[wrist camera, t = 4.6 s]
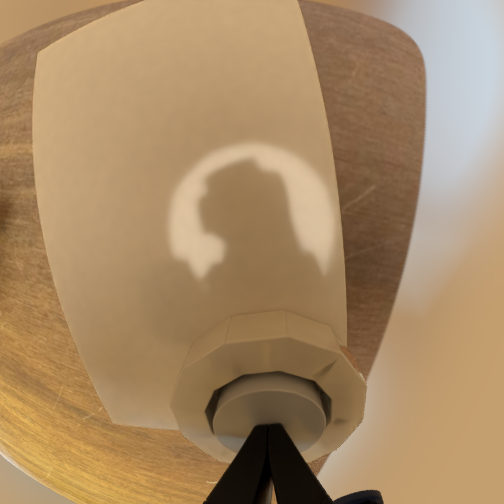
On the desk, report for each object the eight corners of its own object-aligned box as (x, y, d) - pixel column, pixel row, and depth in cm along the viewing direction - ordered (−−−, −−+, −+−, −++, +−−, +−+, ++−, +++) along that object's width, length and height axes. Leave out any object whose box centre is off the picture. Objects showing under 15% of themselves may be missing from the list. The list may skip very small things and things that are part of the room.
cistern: (325, 356, 16) (357, 456, 9) (153, 370, 17) (106, 457, 9) (285, 40, 13) (299, -55, 5) (99, 84, 13) (13, 41, 5)
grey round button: (318, 416, 10) (325, 453, 8) (230, 425, 10) (225, 461, 8) (315, 345, 9) (326, 382, 7) (211, 357, 9) (200, 394, 7)
